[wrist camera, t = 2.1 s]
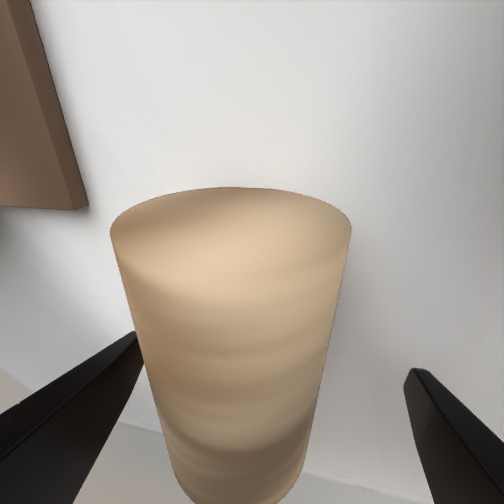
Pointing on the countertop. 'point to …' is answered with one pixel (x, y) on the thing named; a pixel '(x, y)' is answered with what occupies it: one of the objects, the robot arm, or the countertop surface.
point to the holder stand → (32, 121)
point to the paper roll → (233, 329)
